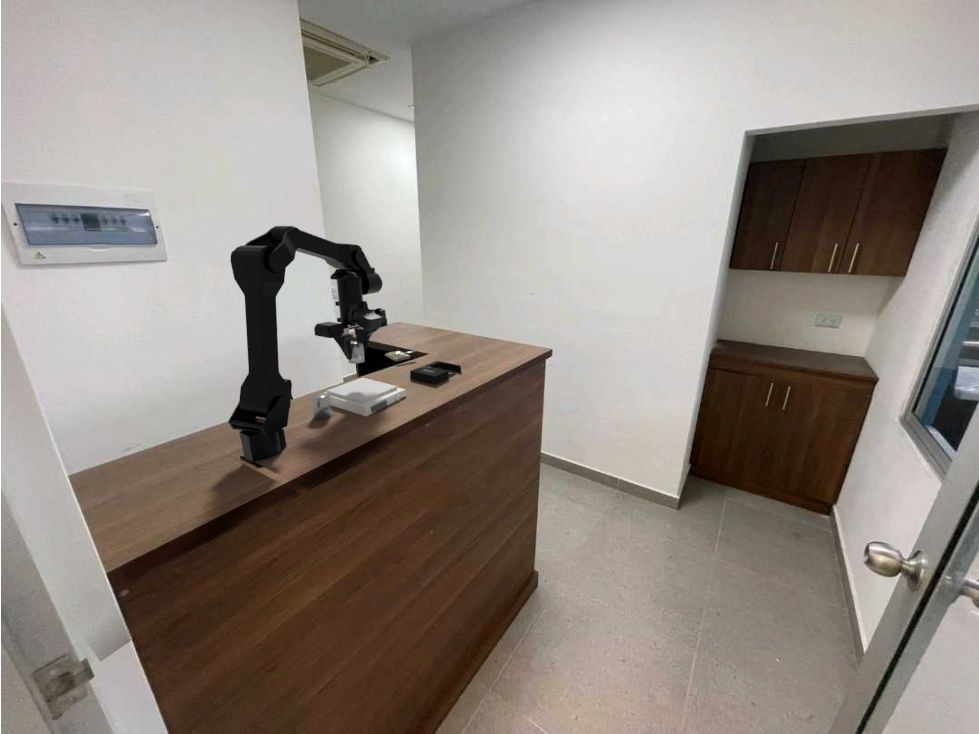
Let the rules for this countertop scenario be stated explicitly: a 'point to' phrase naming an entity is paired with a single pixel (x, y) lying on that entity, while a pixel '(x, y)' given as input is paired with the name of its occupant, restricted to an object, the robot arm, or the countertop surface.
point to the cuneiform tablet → (399, 355)
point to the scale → (364, 396)
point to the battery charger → (434, 372)
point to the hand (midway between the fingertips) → (356, 357)
